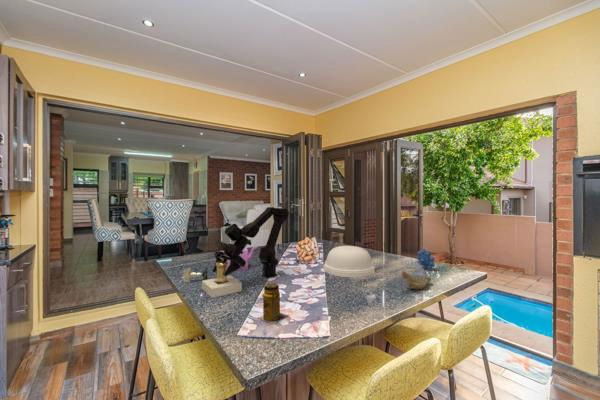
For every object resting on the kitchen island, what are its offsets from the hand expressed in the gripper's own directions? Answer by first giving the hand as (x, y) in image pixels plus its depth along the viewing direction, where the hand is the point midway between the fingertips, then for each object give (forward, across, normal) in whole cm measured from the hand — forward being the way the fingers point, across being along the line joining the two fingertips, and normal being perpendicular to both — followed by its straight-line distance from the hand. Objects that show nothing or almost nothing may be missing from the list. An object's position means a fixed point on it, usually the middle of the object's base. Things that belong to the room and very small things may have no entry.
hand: (219, 273), depth 127 cm
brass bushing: (+5, 0, +7) cm, 8 cm away
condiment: (+8, +39, +4) cm, 40 cm away
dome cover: (-44, +28, +56) cm, 77 cm away
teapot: (-16, -28, +28) cm, 43 cm away
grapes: (-66, +62, +78) cm, 119 cm away
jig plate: (+5, 0, +7) cm, 8 cm away
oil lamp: (-40, +69, +52) cm, 96 cm away
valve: (+6, -23, +6) cm, 24 cm away
